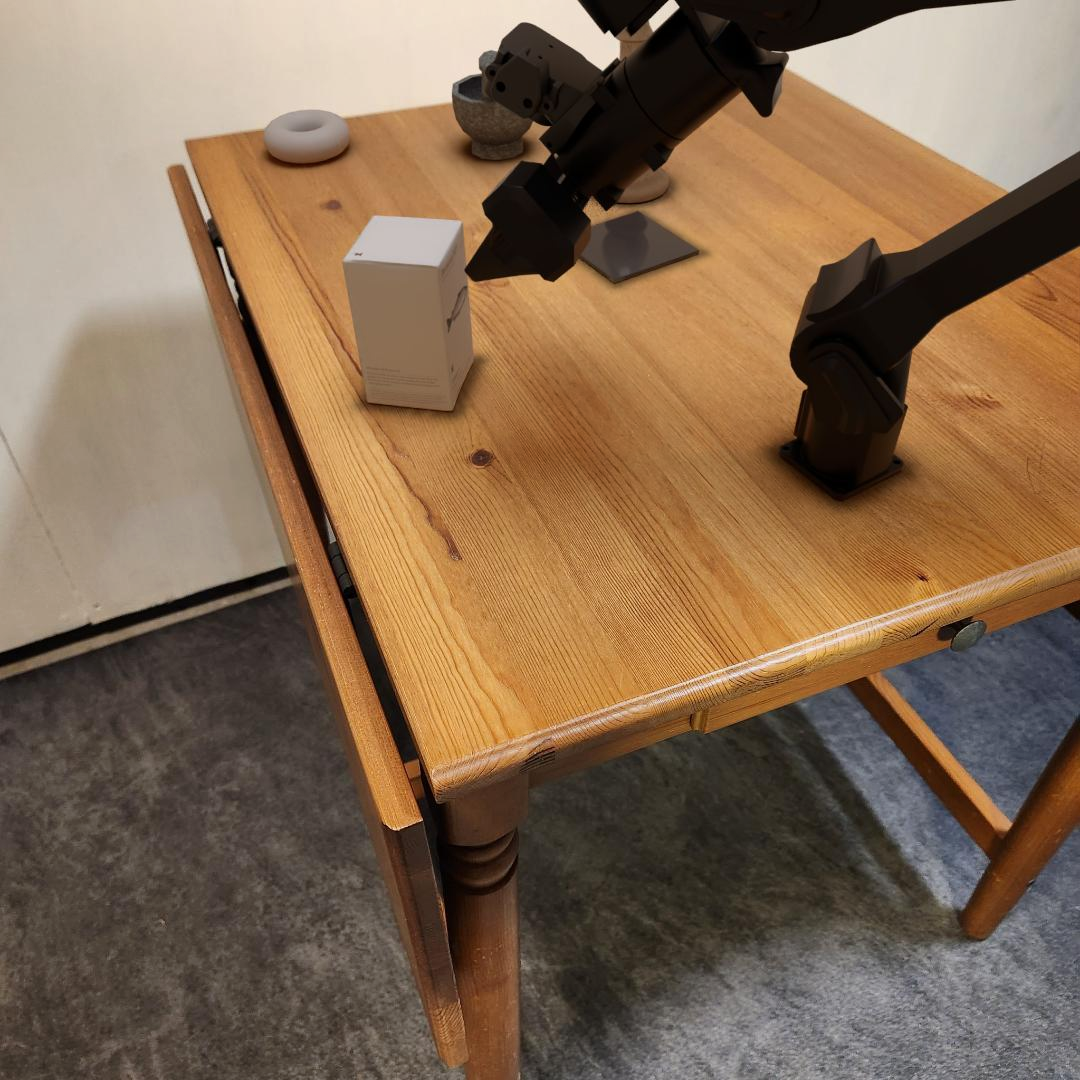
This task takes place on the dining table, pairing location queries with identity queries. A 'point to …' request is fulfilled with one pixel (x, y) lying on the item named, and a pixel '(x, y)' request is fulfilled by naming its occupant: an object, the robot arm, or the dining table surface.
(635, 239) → the slate coaster
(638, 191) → the candle holder
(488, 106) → the mortar and pestle
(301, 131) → the donut
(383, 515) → the dining table surface
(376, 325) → the white packaging box
